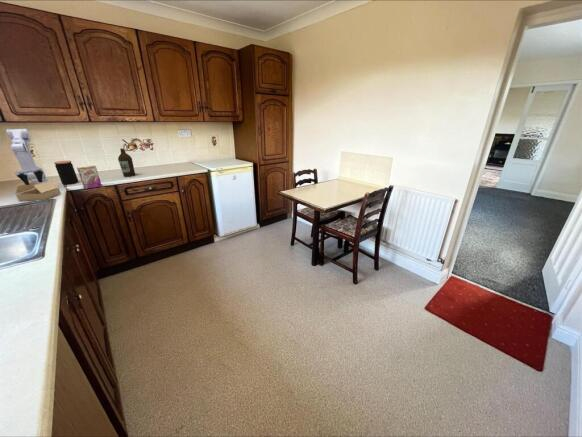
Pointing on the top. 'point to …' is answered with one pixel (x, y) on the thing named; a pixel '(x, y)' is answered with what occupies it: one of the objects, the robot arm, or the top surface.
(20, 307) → the top surface
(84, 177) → the candy bar box
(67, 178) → the coffee jar
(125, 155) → the olive oil
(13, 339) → the top surface
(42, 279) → the top surface
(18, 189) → the flap
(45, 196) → the carton
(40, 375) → the top surface
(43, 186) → the flap
